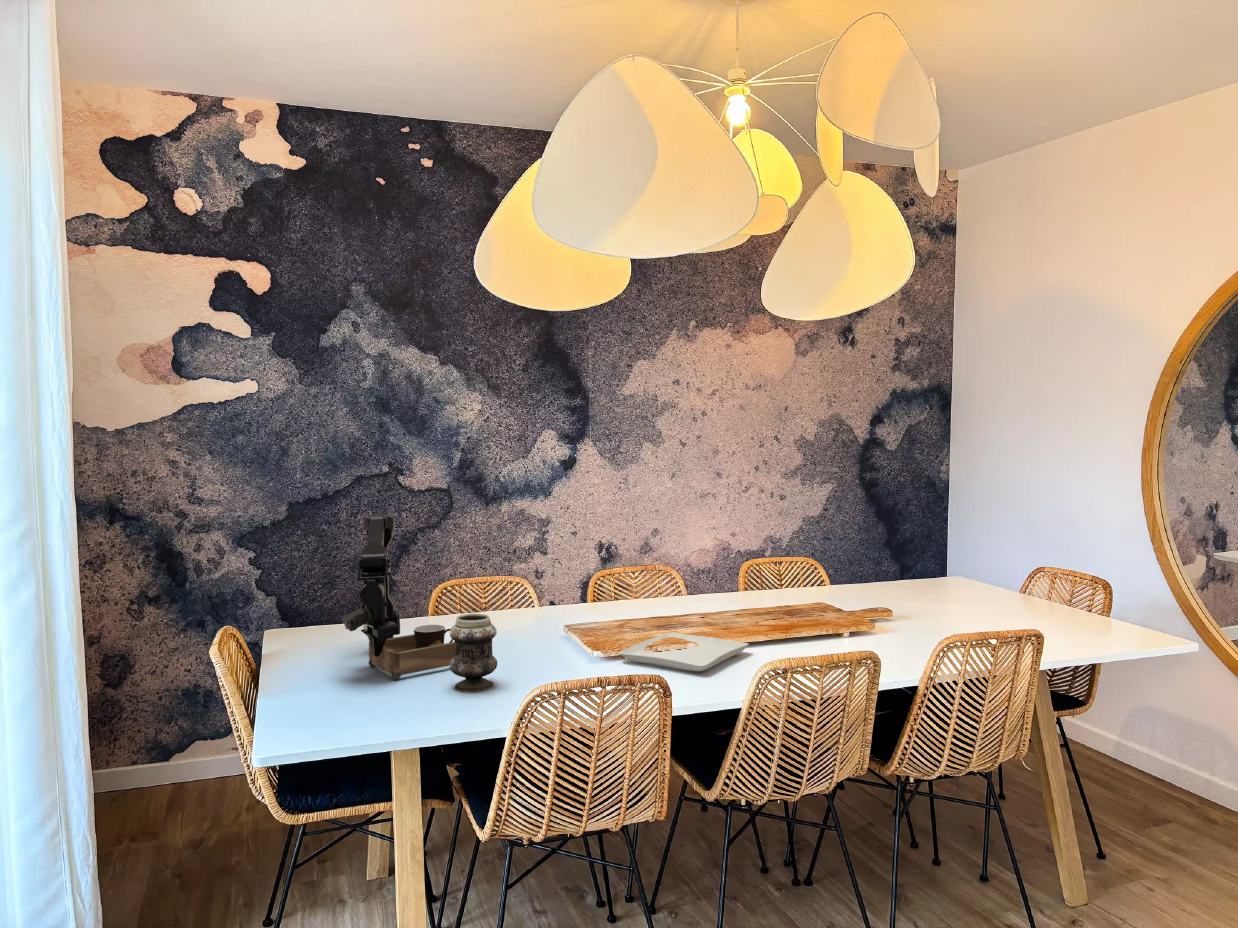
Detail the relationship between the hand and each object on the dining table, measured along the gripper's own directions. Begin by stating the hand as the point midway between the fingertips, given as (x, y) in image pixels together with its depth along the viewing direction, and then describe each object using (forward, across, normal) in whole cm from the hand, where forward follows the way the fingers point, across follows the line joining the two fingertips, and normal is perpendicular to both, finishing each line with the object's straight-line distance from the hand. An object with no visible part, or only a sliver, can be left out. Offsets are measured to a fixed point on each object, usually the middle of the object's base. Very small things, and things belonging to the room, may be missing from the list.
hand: (376, 656), depth 246 cm
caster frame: (+5, 0, +12) cm, 13 cm away
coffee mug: (+5, 0, +17) cm, 18 cm away
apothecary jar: (+5, +26, +15) cm, 31 cm away
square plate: (+5, +41, +73) cm, 84 cm away
